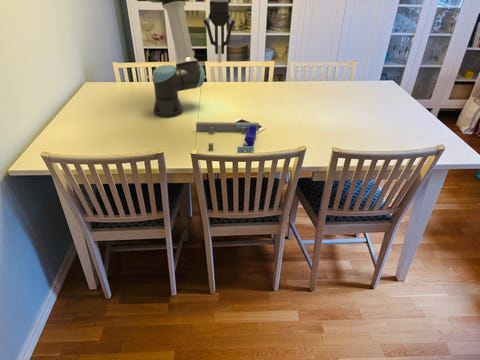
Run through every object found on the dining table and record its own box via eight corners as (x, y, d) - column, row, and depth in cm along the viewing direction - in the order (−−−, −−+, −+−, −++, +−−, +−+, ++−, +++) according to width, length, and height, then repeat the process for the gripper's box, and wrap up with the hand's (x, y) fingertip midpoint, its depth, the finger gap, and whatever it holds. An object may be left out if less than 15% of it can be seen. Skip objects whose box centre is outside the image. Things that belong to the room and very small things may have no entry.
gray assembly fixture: (193, 152, 145) (192, 144, 143) (196, 129, 163) (196, 122, 160) (262, 152, 146) (263, 144, 144) (258, 130, 164) (258, 122, 162)
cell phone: (238, 119, 175) (238, 117, 175) (266, 129, 166) (266, 127, 166) (227, 124, 169) (227, 122, 169) (255, 135, 160) (256, 133, 160)
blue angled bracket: (246, 136, 159) (246, 124, 156) (255, 137, 158) (256, 125, 155) (242, 148, 149) (242, 136, 146) (252, 149, 149) (253, 137, 145)
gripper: (202, 1, 128) (204, 63, 142) (235, 1, 129) (235, 64, 143) (202, -2, 135) (205, 59, 148) (235, -1, 135) (234, 59, 149)
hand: (219, 61), depth 145 cm, fingers closed
